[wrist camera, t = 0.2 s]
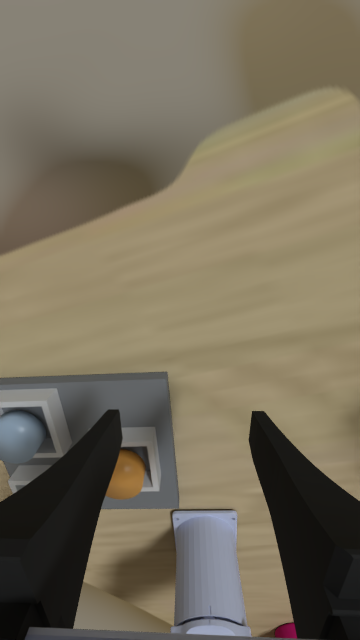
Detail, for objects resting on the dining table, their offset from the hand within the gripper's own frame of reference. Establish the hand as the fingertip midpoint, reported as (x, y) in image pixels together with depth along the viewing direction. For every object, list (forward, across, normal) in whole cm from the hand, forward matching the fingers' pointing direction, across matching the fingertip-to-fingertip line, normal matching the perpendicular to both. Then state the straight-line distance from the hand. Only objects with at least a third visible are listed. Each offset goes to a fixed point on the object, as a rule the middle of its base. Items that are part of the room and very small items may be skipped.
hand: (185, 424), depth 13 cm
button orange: (+7, +6, +12) cm, 16 cm away
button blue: (+7, +16, +8) cm, 19 cm away
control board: (+10, +11, +12) cm, 19 cm away
